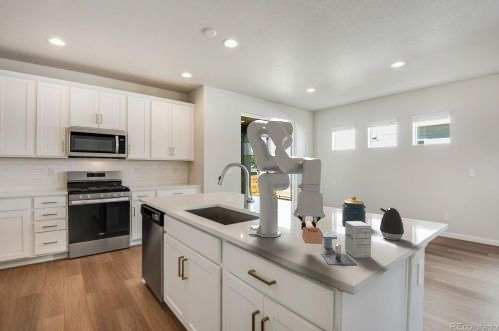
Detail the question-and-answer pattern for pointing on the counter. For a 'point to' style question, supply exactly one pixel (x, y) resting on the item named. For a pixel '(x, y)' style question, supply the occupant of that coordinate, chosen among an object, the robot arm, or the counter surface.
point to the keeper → (328, 239)
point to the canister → (353, 210)
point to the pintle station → (338, 257)
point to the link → (312, 234)
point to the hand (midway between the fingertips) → (308, 231)
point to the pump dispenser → (391, 224)
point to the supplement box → (358, 239)
